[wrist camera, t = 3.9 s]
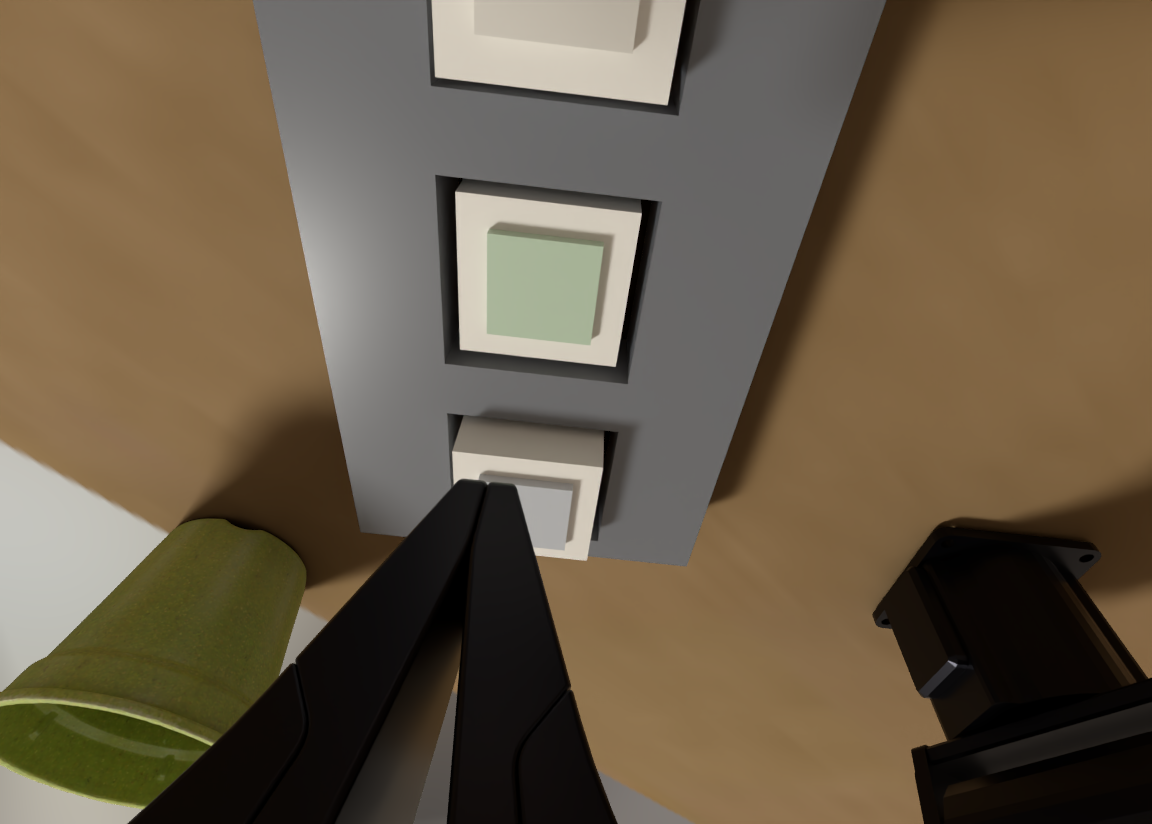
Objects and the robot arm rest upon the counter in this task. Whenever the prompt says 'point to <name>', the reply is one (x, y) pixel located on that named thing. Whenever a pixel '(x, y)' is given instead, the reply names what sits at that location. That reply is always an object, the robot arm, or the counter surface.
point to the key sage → (543, 270)
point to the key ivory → (561, 45)
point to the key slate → (538, 476)
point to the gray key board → (567, 162)
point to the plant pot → (157, 666)
